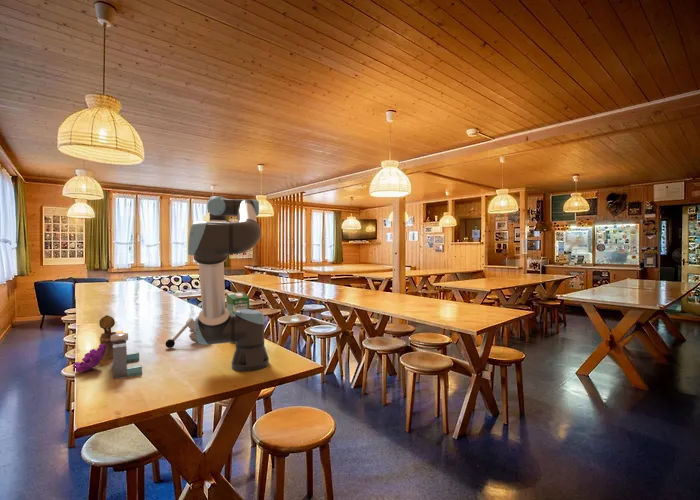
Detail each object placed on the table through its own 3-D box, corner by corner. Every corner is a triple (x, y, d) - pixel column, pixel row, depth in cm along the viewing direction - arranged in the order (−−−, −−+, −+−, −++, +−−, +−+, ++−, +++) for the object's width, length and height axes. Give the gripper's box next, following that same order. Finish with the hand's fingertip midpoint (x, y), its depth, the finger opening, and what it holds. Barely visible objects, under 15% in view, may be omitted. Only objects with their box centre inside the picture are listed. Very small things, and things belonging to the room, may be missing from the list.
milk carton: (233, 343, 185) (232, 294, 185) (226, 339, 192) (226, 293, 192) (250, 340, 191) (249, 293, 191) (243, 336, 198) (242, 291, 198)
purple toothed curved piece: (106, 362, 156) (105, 340, 156) (106, 373, 144) (105, 349, 144) (73, 368, 150) (72, 345, 150) (70, 379, 137) (70, 354, 137)
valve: (214, 334, 188) (194, 316, 182) (190, 364, 178) (167, 345, 171) (205, 333, 195) (186, 315, 189) (181, 361, 185) (159, 343, 178)
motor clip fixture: (142, 374, 141) (141, 338, 141) (110, 380, 136) (110, 342, 136) (139, 359, 160) (138, 327, 160) (111, 363, 155) (111, 330, 155)
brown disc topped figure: (118, 351, 173) (117, 313, 173) (122, 357, 163) (122, 318, 163) (95, 354, 168) (95, 316, 167) (98, 362, 157) (98, 321, 157)
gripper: (229, 229, 168) (230, 279, 168) (222, 230, 179) (223, 277, 179) (212, 228, 164) (213, 280, 164) (206, 229, 175) (207, 278, 175)
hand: (218, 279), depth 172 cm, fingers closed
